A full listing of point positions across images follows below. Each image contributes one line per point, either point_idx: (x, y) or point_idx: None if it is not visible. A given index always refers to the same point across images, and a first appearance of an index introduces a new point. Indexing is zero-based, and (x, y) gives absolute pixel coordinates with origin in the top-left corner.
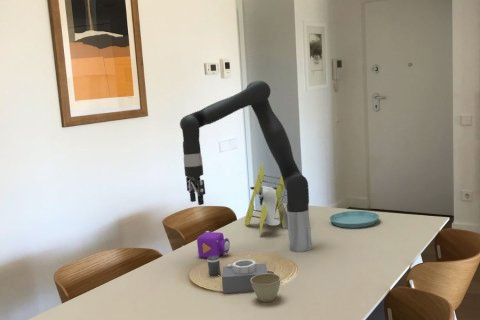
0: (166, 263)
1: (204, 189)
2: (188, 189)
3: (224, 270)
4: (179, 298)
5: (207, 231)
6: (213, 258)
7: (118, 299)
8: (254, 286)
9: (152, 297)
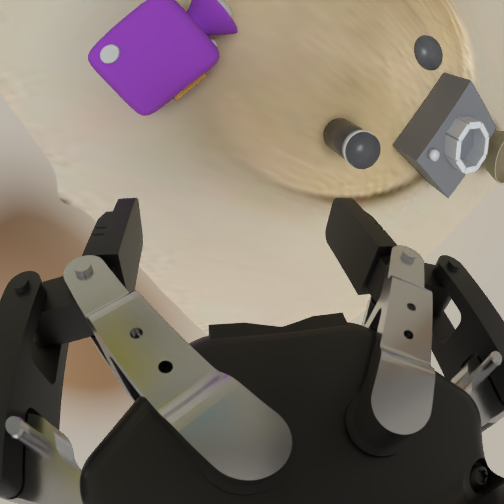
0: (139, 205)
1: (481, 297)
2: (67, 341)
3: (433, 173)
4: None
5: (108, 54)
6: (371, 155)
7: (292, 322)
8: (499, 180)
9: (334, 282)
